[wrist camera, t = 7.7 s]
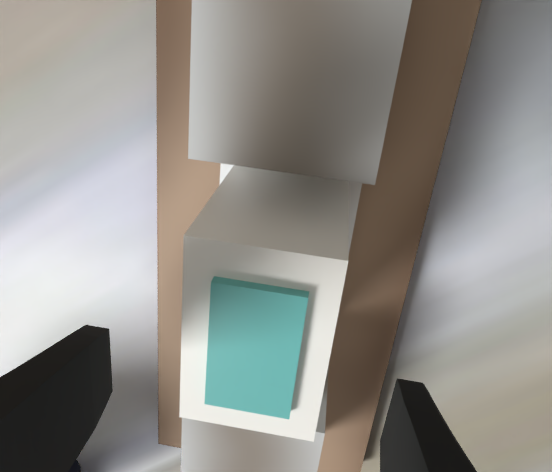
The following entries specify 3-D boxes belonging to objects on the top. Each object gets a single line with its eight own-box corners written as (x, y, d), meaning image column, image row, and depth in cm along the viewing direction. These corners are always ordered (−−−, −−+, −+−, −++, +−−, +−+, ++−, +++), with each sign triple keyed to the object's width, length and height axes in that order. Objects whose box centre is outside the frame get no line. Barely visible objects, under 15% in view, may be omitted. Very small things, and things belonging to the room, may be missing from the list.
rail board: (501, -109, 14) (581, -168, 9) (357, 463, 25) (359, 578, 20) (167, -140, 15) (78, -211, 10) (165, 428, 25) (121, 529, 21)
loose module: (348, 179, 17) (348, 267, 11) (323, 321, 20) (313, 450, 14) (235, 163, 17) (179, 241, 12) (225, 305, 20) (176, 425, 14)
